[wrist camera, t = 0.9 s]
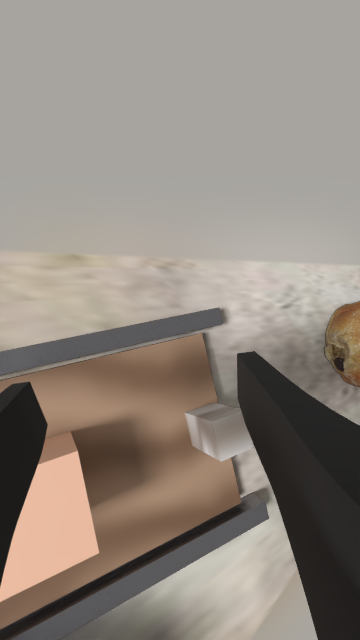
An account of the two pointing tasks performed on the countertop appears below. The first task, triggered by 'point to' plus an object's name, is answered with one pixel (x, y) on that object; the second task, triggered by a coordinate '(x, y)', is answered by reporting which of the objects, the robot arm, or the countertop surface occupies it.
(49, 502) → the terracotta block
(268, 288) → the countertop surface
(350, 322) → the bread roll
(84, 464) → the sliding panel with handle
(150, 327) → the guide rails
